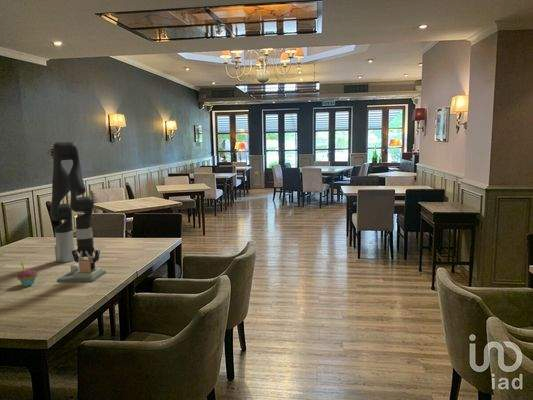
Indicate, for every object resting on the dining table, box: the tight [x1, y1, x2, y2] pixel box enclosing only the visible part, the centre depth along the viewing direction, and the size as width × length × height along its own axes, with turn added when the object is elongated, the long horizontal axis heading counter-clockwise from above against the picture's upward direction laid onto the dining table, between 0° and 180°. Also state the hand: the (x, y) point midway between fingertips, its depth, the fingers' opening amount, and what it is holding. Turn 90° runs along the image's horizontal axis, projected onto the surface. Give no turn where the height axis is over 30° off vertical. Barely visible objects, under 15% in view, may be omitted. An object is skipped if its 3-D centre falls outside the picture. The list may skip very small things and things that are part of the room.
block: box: [78, 257, 95, 273], centre depth 200 cm, size 5×5×6 cm
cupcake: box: [16, 261, 39, 287], centre depth 191 cm, size 9×8×12 cm
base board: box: [56, 263, 107, 283], centre depth 201 cm, size 18×14×5 cm
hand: (87, 269), depth 201 cm, fingers closed on block, 5 cm apart
